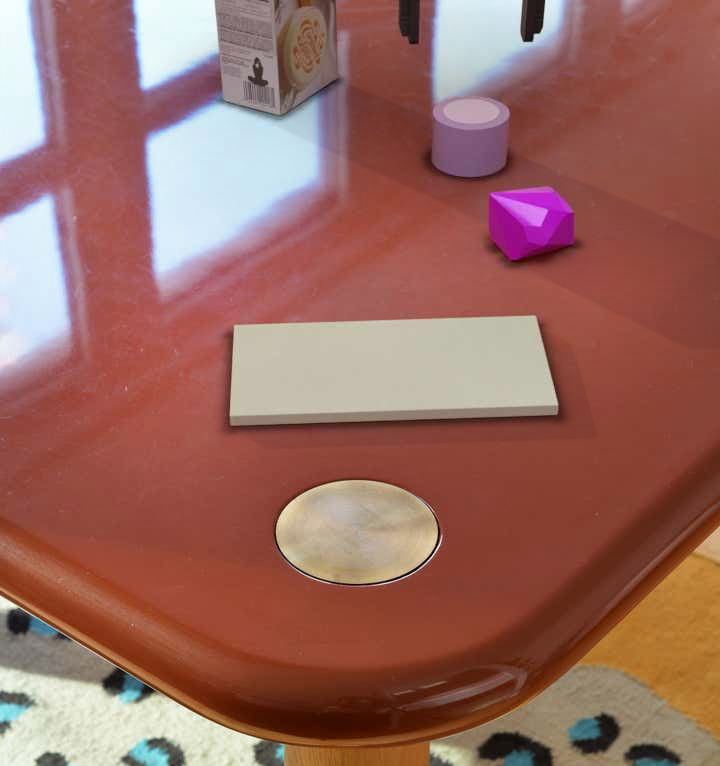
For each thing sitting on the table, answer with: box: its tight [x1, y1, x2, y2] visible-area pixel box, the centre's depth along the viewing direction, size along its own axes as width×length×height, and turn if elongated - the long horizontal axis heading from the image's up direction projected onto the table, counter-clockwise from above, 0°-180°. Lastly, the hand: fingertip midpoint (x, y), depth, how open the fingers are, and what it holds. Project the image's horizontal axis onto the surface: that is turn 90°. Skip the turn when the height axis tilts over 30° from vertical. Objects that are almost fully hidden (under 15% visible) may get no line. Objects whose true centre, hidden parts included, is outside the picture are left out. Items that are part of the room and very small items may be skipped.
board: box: [229, 315, 559, 427], centre depth 86 cm, size 20×10×1 cm, turn 92°
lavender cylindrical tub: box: [430, 95, 511, 178], centre depth 107 cm, size 6×6×4 cm
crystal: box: [488, 185, 575, 261], centre depth 97 cm, size 5×5×5 cm
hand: (470, 39), depth 102 cm, fingers open, 8 cm apart
